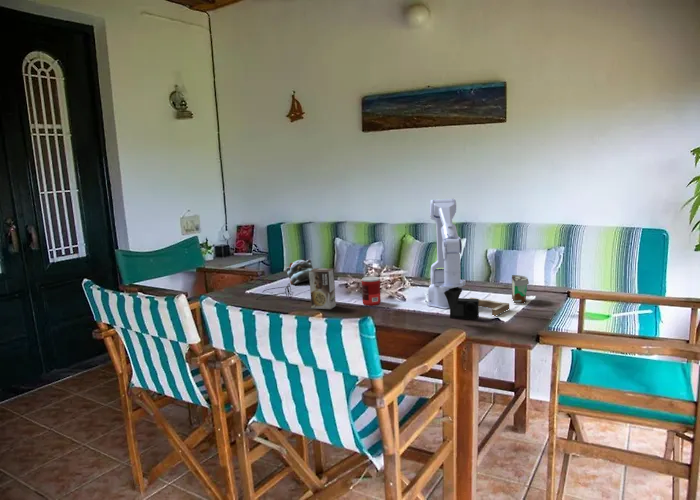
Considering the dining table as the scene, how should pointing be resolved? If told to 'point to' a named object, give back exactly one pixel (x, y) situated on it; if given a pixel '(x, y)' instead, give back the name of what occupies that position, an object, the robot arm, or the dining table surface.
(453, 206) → the robot arm
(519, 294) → the food container
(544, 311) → the dining table surface
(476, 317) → the digital camera
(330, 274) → the coffee box
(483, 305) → the frame
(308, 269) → the grey lumpy clump
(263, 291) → the glasses
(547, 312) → the dining table surface
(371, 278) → the canned food
